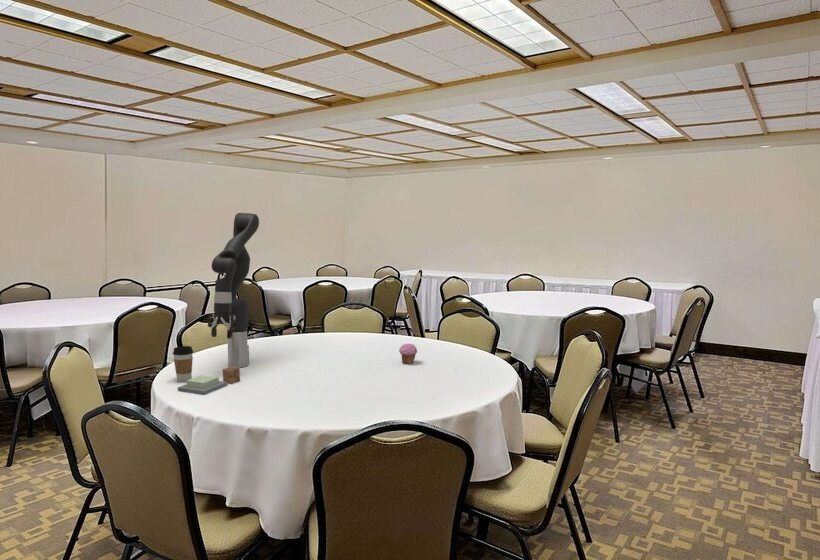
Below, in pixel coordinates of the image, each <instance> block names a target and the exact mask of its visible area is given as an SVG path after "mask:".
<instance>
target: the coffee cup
mask: <svg viewBox="0 0 820 560" xmlns="http://www.w3.org/2000/svg"><path fill="white" fill-rule="evenodd" d="M193 353H194V350H193V347H192V346H190V345H189V346H188V345H183V346H177V347H174V348H173V352H172V355H173V361H174V369H175V376H176V382H178V383H187V380H190V379H192V378H193V376H192V373H193V359H194V357H193Z"/></svg>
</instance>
